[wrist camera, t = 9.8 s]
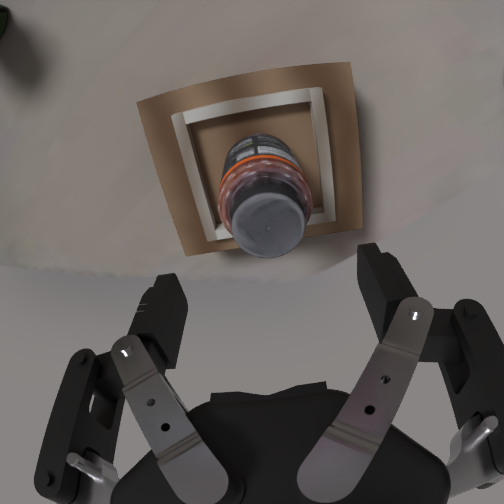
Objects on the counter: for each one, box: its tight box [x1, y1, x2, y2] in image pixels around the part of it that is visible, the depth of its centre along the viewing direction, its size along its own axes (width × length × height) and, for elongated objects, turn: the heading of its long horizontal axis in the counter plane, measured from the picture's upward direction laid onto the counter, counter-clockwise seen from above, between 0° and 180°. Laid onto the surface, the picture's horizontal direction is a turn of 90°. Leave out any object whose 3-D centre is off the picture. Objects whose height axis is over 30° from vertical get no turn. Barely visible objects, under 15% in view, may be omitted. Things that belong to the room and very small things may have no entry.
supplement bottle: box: [217, 133, 313, 258], centre depth 21 cm, size 6×6×11 cm
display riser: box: [136, 62, 363, 256], centre depth 27 cm, size 18×16×7 cm
